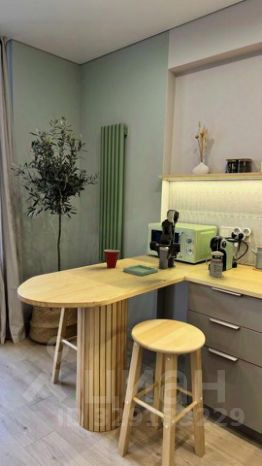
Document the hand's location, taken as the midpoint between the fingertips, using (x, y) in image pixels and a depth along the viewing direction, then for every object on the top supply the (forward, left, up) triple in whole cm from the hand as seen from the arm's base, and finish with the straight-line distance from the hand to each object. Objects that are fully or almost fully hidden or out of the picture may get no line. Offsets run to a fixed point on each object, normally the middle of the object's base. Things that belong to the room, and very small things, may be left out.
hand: (163, 258), depth 191 cm
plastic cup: (+3, -41, -13) cm, 43 cm away
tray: (-3, -20, -12) cm, 24 cm away
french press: (-34, +16, -13) cm, 40 cm away
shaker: (-1, -1, -7) cm, 7 cm away
